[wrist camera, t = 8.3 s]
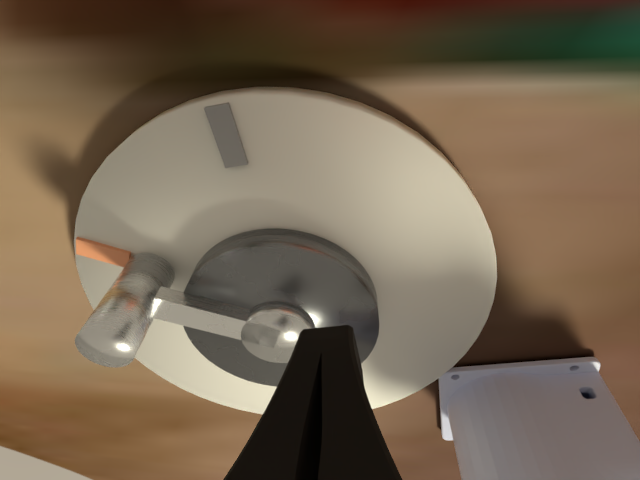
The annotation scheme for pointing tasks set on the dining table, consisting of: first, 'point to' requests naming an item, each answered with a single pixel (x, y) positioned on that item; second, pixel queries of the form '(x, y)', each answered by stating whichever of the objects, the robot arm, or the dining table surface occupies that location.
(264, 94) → the dial plate
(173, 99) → the dining table surface
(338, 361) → the robot arm
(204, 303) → the dial
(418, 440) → the dining table surface
